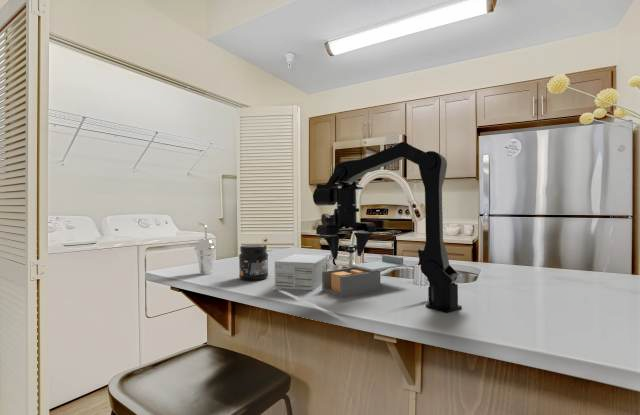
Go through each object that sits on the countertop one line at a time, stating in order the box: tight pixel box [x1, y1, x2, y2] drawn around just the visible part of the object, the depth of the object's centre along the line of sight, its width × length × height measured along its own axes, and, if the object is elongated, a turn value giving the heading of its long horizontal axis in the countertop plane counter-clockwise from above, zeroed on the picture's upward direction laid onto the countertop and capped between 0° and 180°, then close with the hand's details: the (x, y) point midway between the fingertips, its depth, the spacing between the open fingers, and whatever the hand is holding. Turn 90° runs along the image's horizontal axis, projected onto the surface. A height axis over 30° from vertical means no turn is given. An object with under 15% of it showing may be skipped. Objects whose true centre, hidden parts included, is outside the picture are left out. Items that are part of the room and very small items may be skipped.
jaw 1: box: [331, 271, 352, 293], centre depth 99 cm, size 4×4×6 cm
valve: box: [341, 244, 357, 268], centre depth 120 cm, size 7×7×12 cm
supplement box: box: [274, 253, 328, 292], centre depth 111 cm, size 17×13×9 cm
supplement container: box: [238, 243, 269, 282], centre depth 123 cm, size 10×10×12 cm
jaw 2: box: [350, 269, 372, 275], centre depth 103 cm, size 4×4×6 cm
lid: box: [351, 254, 407, 272], centre depth 107 cm, size 10×14×3 cm
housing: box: [321, 267, 382, 299], centre depth 101 cm, size 10×14×6 cm
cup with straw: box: [193, 222, 217, 275], centre depth 133 cm, size 8×9×20 cm
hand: (347, 257), depth 100 cm, fingers open, 9 cm apart
